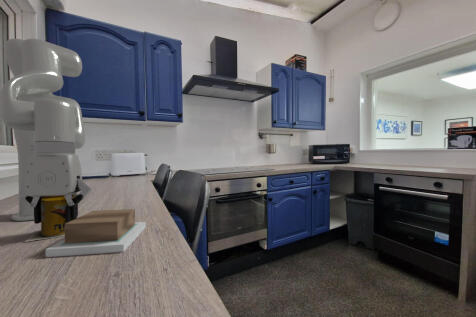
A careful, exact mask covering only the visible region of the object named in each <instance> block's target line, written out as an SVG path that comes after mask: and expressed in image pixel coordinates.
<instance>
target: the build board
mask: <svg viewBox="0 0 476 317" xmlns="http://www.w3.org/2000/svg"><path fill="white" fill-rule="evenodd" d="M146 225H147V224H146V221H138V222H137V221H135V225H134V226H133V227H132V228H131V229H130V230H128V231H127V232H126V233H125V234H124V235H123V236H122V237H121V238H120V239H119V240H118V241H101V242H84V243H67V244H65V238H62V239H61V240H60V241H58V242H56V243H54V244H53V245H51V246H49V247H48V248H46V249H45V258H53V257H67V256H68V257H70V256H81V255H82V256H83V255H95V254H96V255H98V254H111V253H124V252H125V251H126V250H127V249H128V248H129V247H130V246H131V244H132V243H133V242H134V241H135V240H136V239H137V237H138V236H139V235H141V234H142V232H143V231H144V230H145V229H146V228H147V226H146Z"/></svg>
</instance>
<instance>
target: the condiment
mask: <svg viewBox="0 0 476 317" xmlns="http://www.w3.org/2000/svg"><path fill="white" fill-rule="evenodd" d="M66 206H68V203H67V201H66V199H65V197H64V196H43V198H42V199H41V223H40V230H34V231H33V232H32V234H31V235H30V236H28V238H27V239H26V240H25V241H24V243H27V242H35V241H39V240H47V239H53V238H54V239H55V238H60V237H65V224H66V223H68V222H66Z"/></svg>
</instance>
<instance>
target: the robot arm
mask: <svg viewBox="0 0 476 317" xmlns="http://www.w3.org/2000/svg"><path fill="white" fill-rule="evenodd" d="M4 55H5V59H6V62H7V66H8V68H9V70H10V71H11V73H12V75H13V77H11V78H10V79H9V80H8V81H6V82H5V83H4V84H3V86H2V88H1V89H0V90H1V91H0V118H1V121H2V123H3V124H4V125H5V126H6V127H7V128H9V129H13V135H14V140H15V144H16V149H17V150H16V151H17V160H18V161H17V162H18V164H17V165H18V212H16V213H14V214H12V215H11V220H12V221H15V222H23V221H24V222H26V221H33V222H34V223H33V224H38V225H39V224H41V199H42V198H43V196H64V197H65V199H66V201H67V203H68V206H66V222H70V221H72V220H75V219H77V218H78V215H79V204H80V203H81V201H83V200H84V199H85V198H86V196H87V195H88V194H90V193H91V192H92V188H91V187H90V186H88V184H87V183H85V182H84V181H83V174H82V167H81V162H80V158H79V155H76V150H79V149H81V148H83V146H84V145H85V143H86V132H85V127H84V120H83V114H82V108H81V106H80V104H79V103H78V102H77V101H76V100H75V99H74V98H73V99H72V98H70V97H64V96H60V95H55V94H53V93H55V92H58V91H60V90H61V89H62V88H63V86H64V79H63V76H65V77H71V78H76V77H80V75H81V74H82V71H83V63H82V59H81V57H80V56H79V54H78V52H76V51H74V50H72V49H70V48H66V47H64V46H60V45H57V44H54V43H51V42H48V41H46V40H42V39H37V38H27V39H22V38H10V39H8V40H6V42H5V44H4Z"/></svg>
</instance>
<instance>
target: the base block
mask: <svg viewBox="0 0 476 317" xmlns="http://www.w3.org/2000/svg"><path fill="white" fill-rule="evenodd" d="M135 222H136V209H134V208H132V209H131V208H130V209H110V210H109V209H106V210H105V209H104V210H103V209H102V210H91V211H90V212H88V213H85V214H83V215H81V216H80V217H77V219H75V220H72V221H70V222H68V223H66V224H65V236H64V239H65V244H67V243H84V242H101V241H118V240H119V239H120V238H121V237H122V236H123V235H124V234H125V233H126V232H127V231H128V230H130V229H131V228H132V227H133V226H134V225H135Z"/></svg>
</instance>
